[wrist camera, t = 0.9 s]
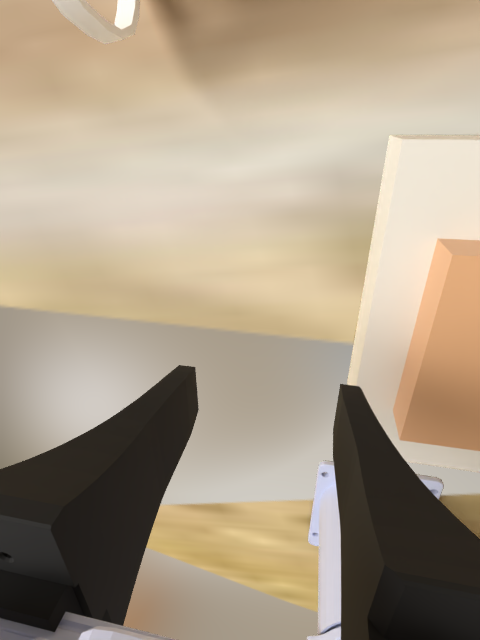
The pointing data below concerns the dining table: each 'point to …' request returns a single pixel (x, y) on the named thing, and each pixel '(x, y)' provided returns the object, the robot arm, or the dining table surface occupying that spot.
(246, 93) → the dining table surface
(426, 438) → the tile
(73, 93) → the dining table surface
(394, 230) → the cream flat block
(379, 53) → the dining table surface
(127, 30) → the cup
